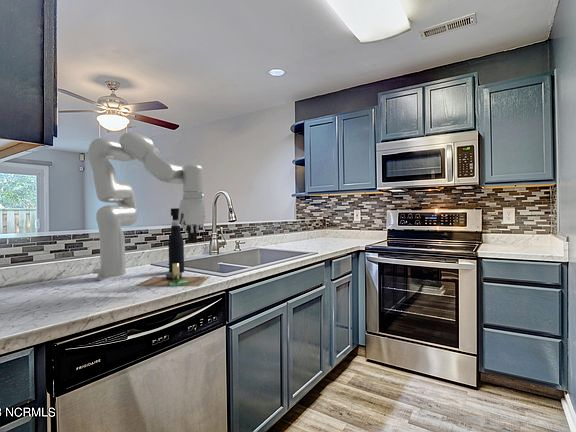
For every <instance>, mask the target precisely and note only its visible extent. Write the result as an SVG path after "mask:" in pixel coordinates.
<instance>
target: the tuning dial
mask: <svg viewBox="0 0 576 432" xmlns="http://www.w3.org/2000/svg"><path fill="white" fill-rule="evenodd" d="M172 265H173V272H169V271H168V272H166V273H165V277H166V279H167V280H174V281H175V282H179V279H180V278H182V277H183V273H182V272H179V263H173V264H172Z"/></svg>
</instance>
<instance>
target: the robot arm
mask: <svg viewBox="0 0 576 432" xmlns="http://www.w3.org/2000/svg"><path fill="white" fill-rule="evenodd" d="M87 158H88V162H89V164H90V167H91V170H92V171H91V172H92V174H93V175H92V176H93V182H94V189H95V194H96V197H97V199H98V200H99V201H100V202H102V203H112V204H113V203H114V204H113V205H112V204H111V205H110V204H108V205H103V206H101V207H99V209H98V210H97V211H96V213H95V215H96V216H95V218H96V223H97V228H98V235H99V236H98V237H99V257H100V261H99V262H100V264H99V265H100V267H99V268H93V270H92V271H91V273H92V274H93V275H97V276H96V280H97V281H103V280H106V279H109V278H115V277H120V276H124V275H126V274H127V273H126V247H125V246H126V241H125V239H126V238H125V233H124V231H123V230H122V227H129V226H133V225H134V224H136V223H137V221H138V215H139V214H138V213H139V212H138V209H137V202H136V201H137V200H136V196H135V192H134V188H133V187H132V186H131V184H129V183H128V182H125V181H118V179H117V174H116V171H115V168H114V166H113V164H112V163H111V162H110V160H113V161H114V160H115V161H118V162H119V161H121V162H129V161H134V160H137V161H139V162H141V164H143V166H144V168H145V170H146V171H147V172H148V173H149V174H150V175H152V176H153V177H154V178H156V179H157V180H159V181H161V182H162V183H167V184H176V185H182V199H180V202H179V216H178V220H177V221H178V222H179V224H180V229H184V230H185V231H186V233H187V242H188V243H189V244H195V243H196V244H197V242H198V239H197V237H198V233H199V230H200V229H201V228H204V224H205V223H206V210H205V203H204V202H205V201H204V200H203V199H204V197H205V195H204V193H203V192H204V191H203V189H204V188H203V186H204V181H203V180H204V178H203V177H204V169H203V166H201V165H199V164H185V165H179V164H174V163H170V162H168V161H165V160H164V159H163V158H161V157H160V150H159V148H157V147H156V146H155V144H154V142H153V139H151V138H149V137H148V136H146V135H143V134H139V133H135V132H132V131H131V132H130V131H128V132H125V133H123V134H122V135H121V136H120V137H119V140H116V139H114V138H109V137H97V138H95V139H93V140H92V141H91V142H90V144H89V146H88V150H87ZM115 204H116V205H115Z"/></svg>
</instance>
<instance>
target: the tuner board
mask: <svg viewBox="0 0 576 432" xmlns="http://www.w3.org/2000/svg"><path fill="white" fill-rule="evenodd" d="M209 278H211V276H207V275H200V276H182V278H180V279H179V282H175V281H174V280H167V279H166V276H153V277H151V278H148V279H146V280H144V281H143V282H140V283H138V284H136V285H135V287H200V286H201V285H202V284H204V282H206V281H207V280H208V279H209Z"/></svg>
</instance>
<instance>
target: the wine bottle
mask: <svg viewBox="0 0 576 432" xmlns="http://www.w3.org/2000/svg"><path fill="white" fill-rule="evenodd" d="M170 216H171V217H172V222H171V226H170V227H171V228H170V229H171V230H170V231H171V232H170V235H169V239H168V273H169V272H173V265H172V264H173V263H179V272H182V274H183V273H185V251H184V250H185V249H184V245H185V244H184V238H183V235H182V233H181V225H180V224H179V222H178V217H179V208H175V207H174V208H170Z"/></svg>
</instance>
